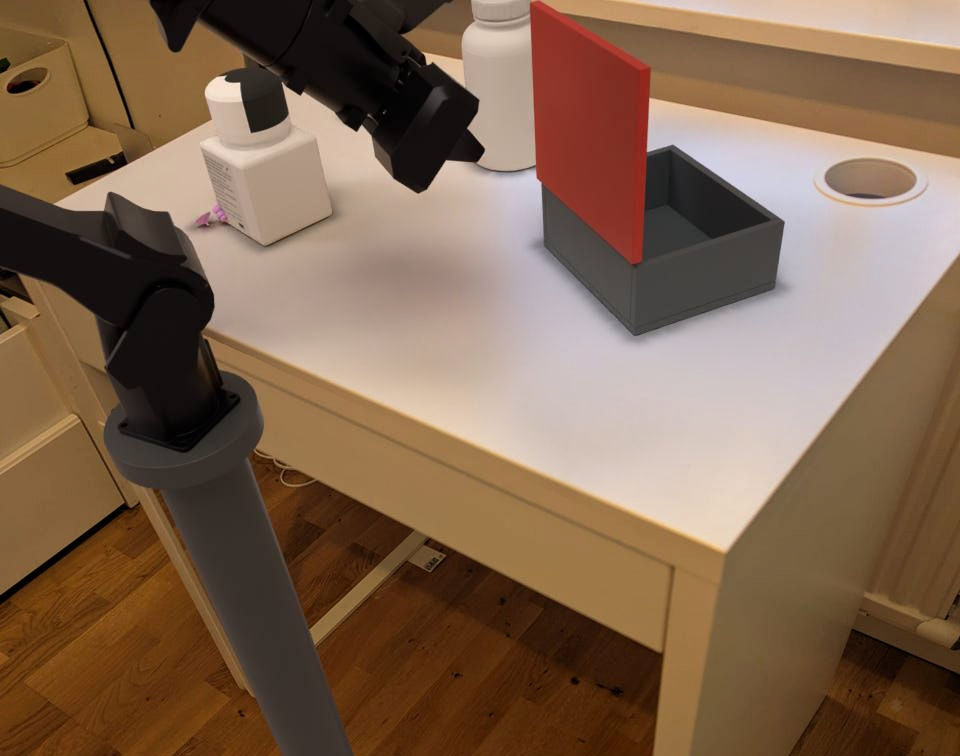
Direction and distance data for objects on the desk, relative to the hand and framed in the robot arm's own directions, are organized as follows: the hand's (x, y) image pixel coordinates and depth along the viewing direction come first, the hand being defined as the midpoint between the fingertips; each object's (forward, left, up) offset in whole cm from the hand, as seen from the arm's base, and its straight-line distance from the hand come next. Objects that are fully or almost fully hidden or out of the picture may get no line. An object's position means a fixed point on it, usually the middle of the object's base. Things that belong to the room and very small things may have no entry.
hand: (479, 154), depth 64 cm
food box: (+11, -9, -13) cm, 19 cm away
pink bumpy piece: (+5, +32, -13) cm, 35 cm away
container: (+8, +27, -13) cm, 31 cm away
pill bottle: (+26, +11, -13) cm, 31 cm away
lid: (+6, -5, 0) cm, 8 cm away
